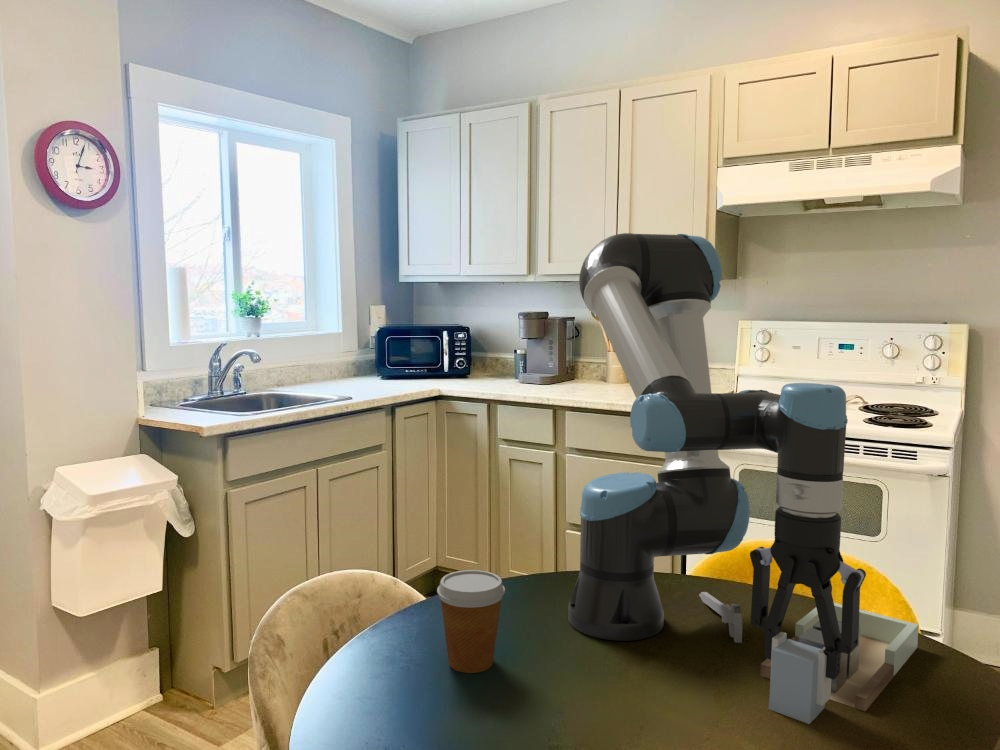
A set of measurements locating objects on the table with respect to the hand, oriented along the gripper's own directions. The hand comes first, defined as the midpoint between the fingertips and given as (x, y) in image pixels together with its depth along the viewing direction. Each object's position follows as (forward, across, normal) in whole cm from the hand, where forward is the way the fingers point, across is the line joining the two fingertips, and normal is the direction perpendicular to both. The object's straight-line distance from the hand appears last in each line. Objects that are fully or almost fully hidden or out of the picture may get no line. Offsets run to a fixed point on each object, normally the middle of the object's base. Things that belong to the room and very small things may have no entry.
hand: (799, 692), depth 95 cm
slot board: (+2, 0, +16) cm, 16 cm away
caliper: (+3, -21, +19) cm, 28 cm away
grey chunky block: (+2, 0, +13) cm, 13 cm away
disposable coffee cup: (+3, -39, -19) cm, 44 cm away
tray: (+2, 0, +22) cm, 22 cm away
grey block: (+2, 0, -1) cm, 3 cm away
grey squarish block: (+2, 0, +8) cm, 8 cm away
